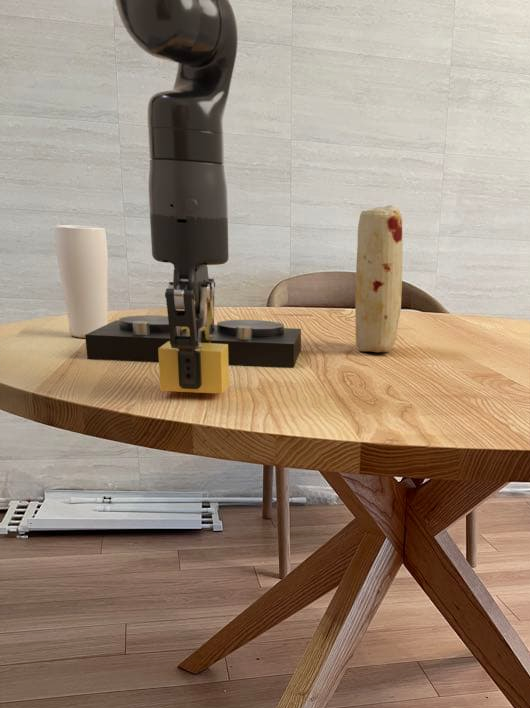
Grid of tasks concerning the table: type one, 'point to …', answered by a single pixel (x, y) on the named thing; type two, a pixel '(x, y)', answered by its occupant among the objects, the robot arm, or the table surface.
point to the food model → (378, 278)
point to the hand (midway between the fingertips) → (195, 382)
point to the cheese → (211, 368)
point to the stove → (153, 331)
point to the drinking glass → (83, 276)
